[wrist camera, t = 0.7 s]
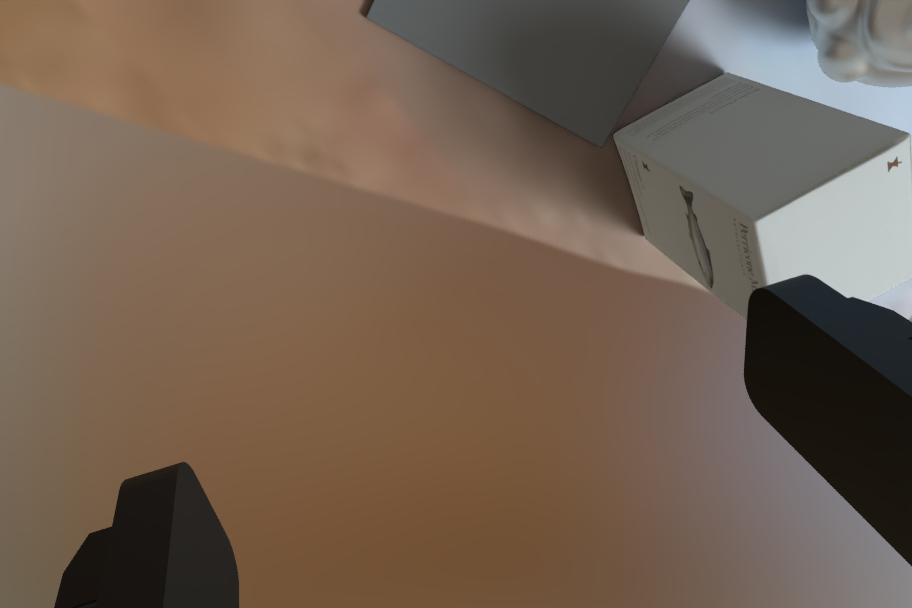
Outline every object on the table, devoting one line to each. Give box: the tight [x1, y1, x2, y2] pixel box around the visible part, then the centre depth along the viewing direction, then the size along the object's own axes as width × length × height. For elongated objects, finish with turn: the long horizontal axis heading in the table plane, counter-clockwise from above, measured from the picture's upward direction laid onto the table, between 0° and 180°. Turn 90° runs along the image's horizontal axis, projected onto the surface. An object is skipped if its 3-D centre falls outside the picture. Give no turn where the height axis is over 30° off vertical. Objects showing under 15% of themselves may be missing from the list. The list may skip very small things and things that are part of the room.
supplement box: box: [613, 73, 912, 320], centre depth 35 cm, size 7×7×13 cm
